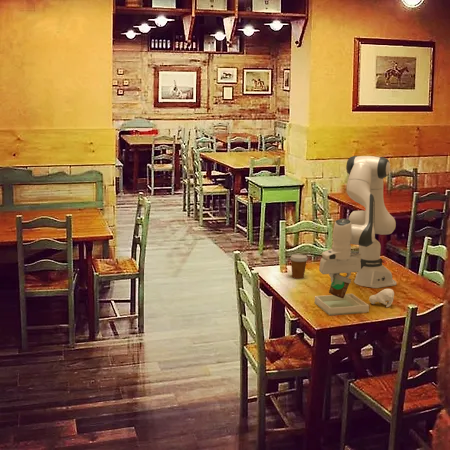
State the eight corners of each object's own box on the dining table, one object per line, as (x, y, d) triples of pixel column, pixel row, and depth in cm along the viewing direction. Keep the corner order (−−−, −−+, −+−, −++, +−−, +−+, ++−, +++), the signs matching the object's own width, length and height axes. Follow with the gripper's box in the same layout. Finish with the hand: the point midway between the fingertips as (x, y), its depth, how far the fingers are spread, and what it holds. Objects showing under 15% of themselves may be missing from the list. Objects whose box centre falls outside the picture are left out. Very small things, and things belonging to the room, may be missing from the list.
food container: (322, 288, 336) (328, 269, 335) (332, 291, 338) (339, 272, 337) (333, 296, 324) (340, 276, 323) (344, 299, 327) (351, 279, 325)
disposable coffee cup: (310, 278, 381) (311, 257, 378) (296, 280, 376) (297, 259, 373) (299, 273, 389) (299, 253, 386) (285, 276, 383) (286, 255, 381)
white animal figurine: (393, 291, 333) (368, 290, 336) (394, 308, 335) (368, 307, 338) (394, 287, 339) (369, 286, 342) (394, 304, 341) (369, 303, 344)
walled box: (351, 300, 345) (352, 293, 345) (368, 312, 328) (369, 305, 328) (314, 303, 340) (314, 296, 339) (329, 315, 323) (330, 308, 322)
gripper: (358, 250, 334) (356, 278, 337) (318, 252, 328) (317, 280, 331) (364, 254, 328) (362, 282, 331) (324, 256, 322) (322, 284, 325)
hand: (339, 281), depth 331 cm, fingers closed on food container, 5 cm apart
